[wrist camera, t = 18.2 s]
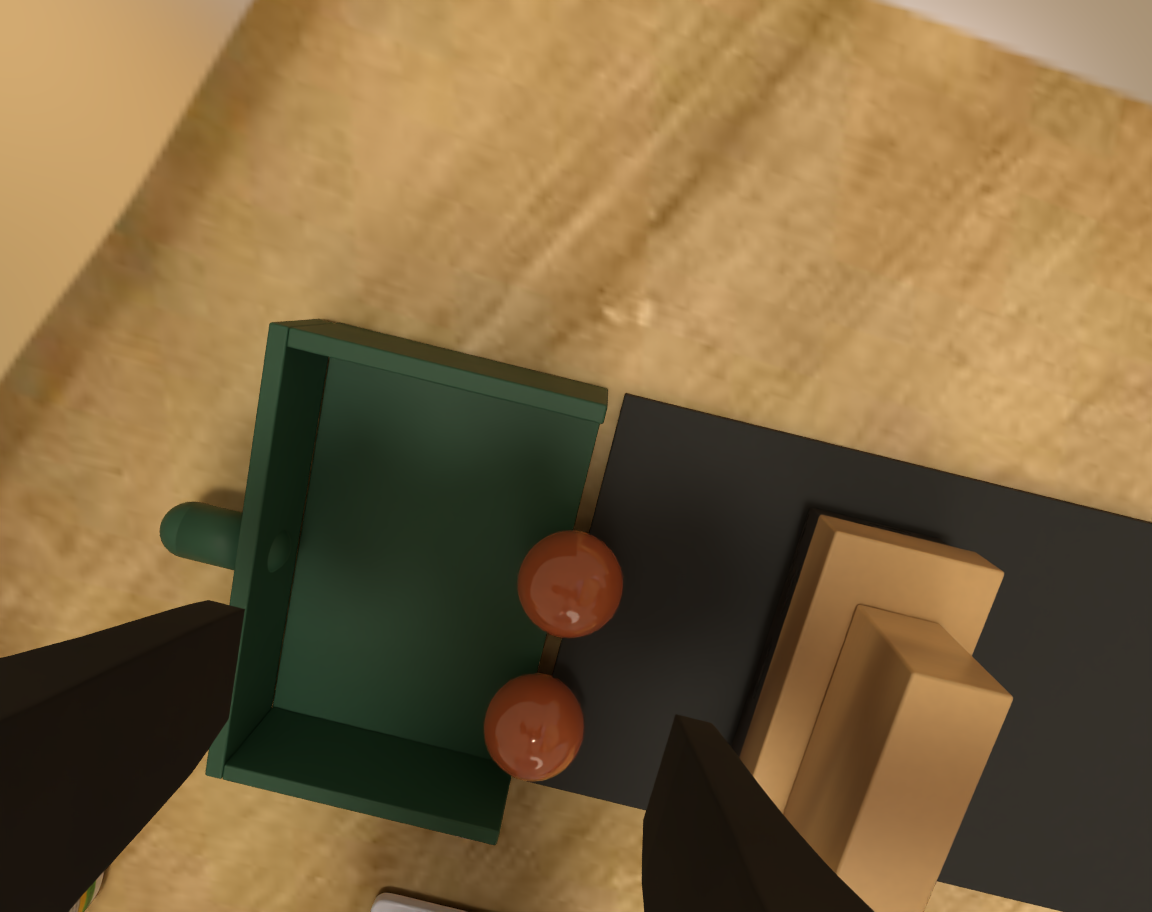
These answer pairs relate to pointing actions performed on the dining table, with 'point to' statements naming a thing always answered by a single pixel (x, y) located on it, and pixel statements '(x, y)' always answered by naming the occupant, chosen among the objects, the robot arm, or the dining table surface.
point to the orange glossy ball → (570, 584)
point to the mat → (1004, 649)
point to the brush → (875, 702)
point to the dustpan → (387, 568)
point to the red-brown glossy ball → (534, 727)
